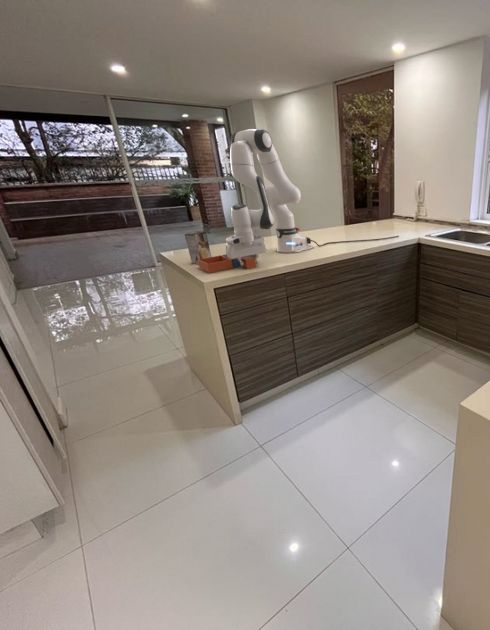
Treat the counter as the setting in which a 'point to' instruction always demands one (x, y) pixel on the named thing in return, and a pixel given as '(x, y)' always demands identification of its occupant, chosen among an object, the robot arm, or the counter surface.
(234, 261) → the blue bin
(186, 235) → the coffee box
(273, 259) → the counter surface
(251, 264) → the clay block
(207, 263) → the clay bin
